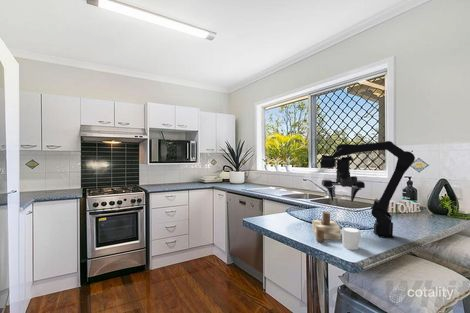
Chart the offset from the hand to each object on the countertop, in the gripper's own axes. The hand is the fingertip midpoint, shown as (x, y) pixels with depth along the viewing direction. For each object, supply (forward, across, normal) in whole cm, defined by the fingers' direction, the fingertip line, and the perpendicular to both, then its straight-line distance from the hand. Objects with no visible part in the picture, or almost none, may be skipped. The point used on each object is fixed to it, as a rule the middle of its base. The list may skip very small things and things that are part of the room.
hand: (341, 201), depth 119 cm
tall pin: (+13, -10, -12) cm, 20 cm away
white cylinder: (+13, -3, -24) cm, 28 cm away
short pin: (+13, -14, -20) cm, 28 cm away
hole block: (+13, -10, -12) cm, 20 cm away
